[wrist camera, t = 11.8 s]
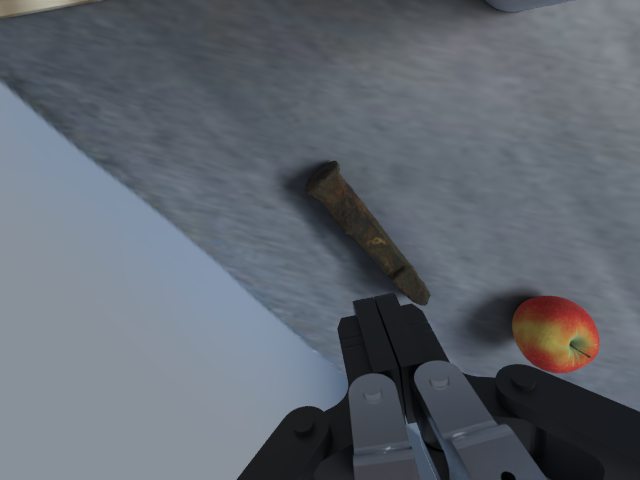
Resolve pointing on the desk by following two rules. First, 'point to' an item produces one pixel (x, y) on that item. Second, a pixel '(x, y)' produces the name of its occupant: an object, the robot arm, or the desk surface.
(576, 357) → the apple
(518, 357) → the desk surface
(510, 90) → the desk surface
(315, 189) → the hand tool
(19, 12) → the board
